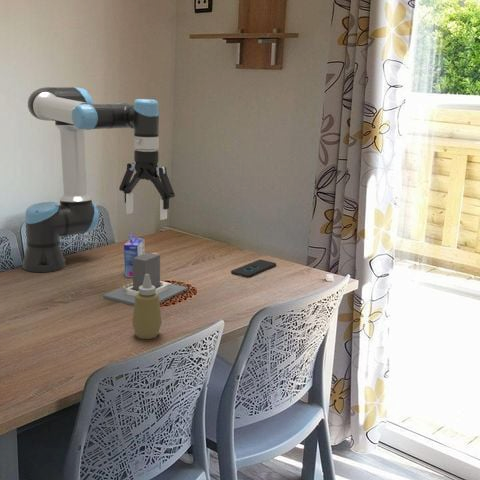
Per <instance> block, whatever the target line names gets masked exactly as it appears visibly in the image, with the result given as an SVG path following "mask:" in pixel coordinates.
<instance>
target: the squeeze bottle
mask: <svg viewBox="0 0 480 480" xmlns="http://www.w3.org/2000/svg"><path fill="white" fill-rule="evenodd" d="M162 323H163V322H162V313H161V304H160V302H159V296H158V294H156V287H155V286H153V285H151V280H150V276H149V274H145V276H144V281H143V285H141V286H139V293H138V294H137V295H136V296H135V303H134V306H133V314H132V326H133V328H134V332H135V334H136V335H135V336H136V337H137V338H139V339H141V340H142V339H143V340H152V339H154V338H156V337H158V334H159V332H160V329H161V326H162Z"/></svg>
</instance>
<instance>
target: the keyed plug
mask: <svg viewBox="0 0 480 480" xmlns="http://www.w3.org/2000/svg"><path fill="white" fill-rule="evenodd" d="M145 274H149V276H150V280H151V285H153V286H155V287H156V288H159V287H160V281H161V254H159V253H158V252H145V254H143V255H140V256H137V257H134V258H133V277H132V283H133V290H135V291H139V286H141V285H143V281H144V276H145Z"/></svg>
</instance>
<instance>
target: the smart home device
mask: <svg viewBox="0 0 480 480" xmlns="http://www.w3.org/2000/svg"><path fill="white" fill-rule="evenodd" d="M276 267H277V263H276V262H273V261H269V260H265V259H257V260H254V261H252V262H249V263H248V264H244V265H242V266H240V267H239V266H238V267H237V268H234V269H232V270H231V271H230V275H232V276H238V277H241V278H245V279H251V278H252V277H255V276H257V275H259V274H262V273H264V272H266V271H269V270H271V269H273V268H276Z"/></svg>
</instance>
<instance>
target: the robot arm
mask: <svg viewBox="0 0 480 480" xmlns="http://www.w3.org/2000/svg"><path fill="white" fill-rule="evenodd" d="M27 108H28V111H29V112H30V114H31V115H32V116H33V117H34V118H35V119H38V120H41V121H49V122H50V121H52V122H53V121H54V122H55V125H54V126H56V128H58V130H59V134H60V149H61V152H60V153H61V167H62V168H61V169H62V170H61V171H62V172H61V173H62V185H63V187H62V188H63V195H62V196H61V197H60V199H59V204H58V203H57V202H55V201H47V202H46V201H45V202H38V203H34V204H32V205H30V206H28V207H27V208H26V210H25V214H24V215H25V217H24V218H25V219H24V222H25V235H26V236H25V237H26V250H25V254H24V258H23V260H22V269H23V270H25V271H28V272H33V273H49V272H55V271H59V270H62V269H64V268H65V267H66V257H65V256H64V254H63V250H62V248H61V240H60V239H61V237H67V236H75V235H84V234H86V233H91V232H93V231H94V230H95V228H97V225H98V224H99V219H100V215H99V214H100V213H99V209H98V206H97V204H96V202H93V200H92V197H91V196H90V195H89V194H88V180H87V178H88V177H87V164H86V163H87V162H86V160H87V159H86V143H85V142H86V141H85V139H86V138H85V131H86V130H87V131H90V130H101V129H102V130H103V129H133V138H134V140H133V142H134V144H133V145H134V147H133V148H134V149H135V150H134V152H133V153H134V157H133V158H134V160H133V161H134V162H130V163H127V164H126V170H125V172H124V175H123V178H122V179H121V183H120V185H119V189H118V190H119V191H121V192H123V193H124V203H125V204H126V205H125V209H126V211H125V213H126V214H127V215H129V214H132V213H133V214H134V192H133V190H134V189H135V187H136V186H137V184H138V183H139V182H140V181H141V180H147V181H150V182H151V183H152V184H153V185H154V187H155V189H156V190H157V192H158V193H159V195H160V197H161V198H160V199H159V201H160V202H159V205H160V206H159V216H160V217H159V220H160V221H164V220H166V219H168V210H169V208H170V199H171V198H174V197H175V192H174V189H173V187H172V184H171V181H170V179H169V177H168V173H167V167H166V166H161V167H159V166H158V164H159V163H158V162H159V151H158V149H159V147H160V146H159V144H160V143H159V138H160V137H159V134H160V133H159V126H160V125H159V124H160V123H159V122H160V121H159V119H160V118H159V117H160V116H159V115H160V111H159V102H158V101H157V100H156V99H149V98H148V99H147V98H137V99H135V100H134V102H133V104H131V103H130V104H129V103H127V102H125V103H124V102H122V103H121V102H120V103H119V102H118V103H105V104H103V103H102V104H99V103H94V102H93V98H92V96H91V95H90V93H89V91H87V90H86V89H85V88H82V87H73V86H72V87H65V86H64V87H59V86H57V87H50V86H46V87H40V88H38V89H36V90H34V91H32V93H31V94H30V95H29V96H28V99H27ZM134 172H135V173H134ZM132 176H133V177H132Z"/></svg>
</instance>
